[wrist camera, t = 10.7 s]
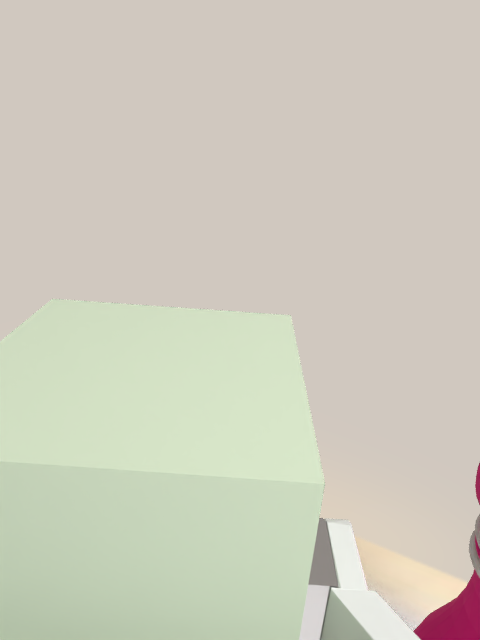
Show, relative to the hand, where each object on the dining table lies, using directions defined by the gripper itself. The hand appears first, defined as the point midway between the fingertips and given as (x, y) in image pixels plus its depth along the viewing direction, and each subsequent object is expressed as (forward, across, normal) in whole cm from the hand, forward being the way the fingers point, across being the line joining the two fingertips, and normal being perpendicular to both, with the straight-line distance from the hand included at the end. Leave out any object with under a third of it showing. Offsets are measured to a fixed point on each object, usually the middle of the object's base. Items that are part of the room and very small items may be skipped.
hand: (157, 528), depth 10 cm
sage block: (-1, 0, +6) cm, 6 cm away
